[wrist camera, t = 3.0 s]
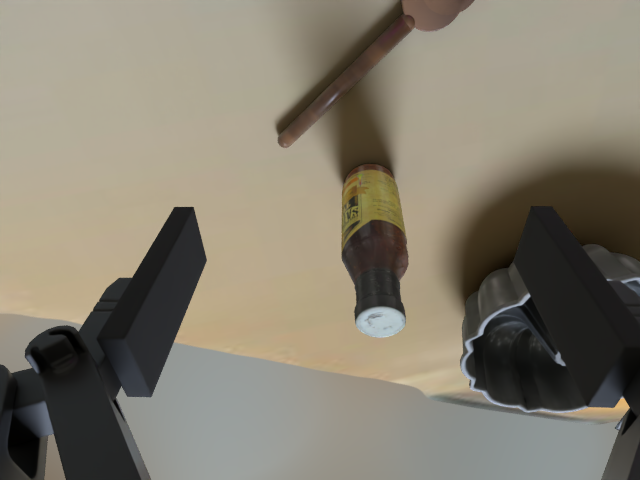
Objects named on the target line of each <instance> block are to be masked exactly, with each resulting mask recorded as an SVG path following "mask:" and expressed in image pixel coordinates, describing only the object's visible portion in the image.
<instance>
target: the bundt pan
mask: <svg viewBox="0 0 640 480" xmlns="http://www.w3.org/2000/svg"><path fill="white" fill-rule="evenodd" d="M582 247H583V249H584V250H585V251H586V253H587V254H588V255H589V257H590V258H591V259H592V261H593V262H594V263H595V265H596V266H597V267H598V269H599V270H600V271H601V273H602V274H603V275H604V277H605V278H606V279H607V281H621V282H622V283H624V284H625V285H627V286H628V287H629V288H631V289H632V290H633V291H635V292H636V293H637V295H638V296H639V297H640V262H639V261H638V260H636V259H635V258H633V257H630V256H628V255H625V254H620V253H610V252H609V251H608V250H607V249H606V248H604V247H602V246H600V245H597V244H587V245H584V246H582ZM513 261H514V260H513ZM465 311H466V315H465V317H464V320H463V324H462V337H463V354H462V357H461V359H460V366H461V370H462V373H463V374H464V375H465V376H466V377H467V378H468V379H470V383H469V386H470V389H471V390H474V391H478V392H482V393H483V395H484V396H485V397H486V398H487V400H489V401H490V402H492V403H494V404H497V405H500V406H505V407H518V408H520V409H521V410H523V411H524V412H534V411H540V410H543V411H547V412H554V413H565V412H573V411H578V410H582V409H585V408H588V407H587V406H586V404H585V402H584V400H583V398H582V396H581V394H580V392H579V390H578V388H577V386H576V384H575V382H574V380H573V378H572V376H571V374H570V372H569V371H568V369H567V367H566V365H565V363H564V361H563V359H562V357H561V355H560V353H559V351H558V349H557V347H556V345H555V343H554V341H553V339H552V337H551V335H550V333H549V331H548V329H547V327H546V325H545V323H544V321H543V319H542V317H541V316H540V314H539V312H538V310H537V308H536V306H535V304H534V302H533V300H532V298H531V296H530V294H529V292H528V290H527V288H526V286H525V284H524V282H523V280H522V278H521V276H520V274H519V272H518V270H517V268H516V266H515V264H514V262H512V264H511V265H510V267H509V268H503V269H498V270H496V271H494V272H492V273H490V274H489V275H488V276H487V277H486V278H485V279H484V281H483V282H482V284H481V286H480V289H479V291H476V292H474V293H472V294H471V295H470V296H469V297H468V299H467V301H466V305H465ZM621 398H624V397H623V396H622V397H621Z"/></svg>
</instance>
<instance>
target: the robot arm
mask: <svg viewBox="0 0 640 480" xmlns="http://www.w3.org/2000/svg"><path fill="white" fill-rule="evenodd" d="M206 261H207V259H206V255H205V251H204V247H203V243H202V239H201V235H200V231H199V227H198V223H197V219H196V215H195V211H194V207H174V209H173V211H172V212H171V214H170V216H169V217H168V219H167V221H166V222H165V224H164V226H163V227H162V229H161V231H160V232H159V234H158V236H157V237H156V239H155V241H154V242H153V244H152V246H151V247H150V249H149V251H148V252H147V254H146V256H145V257H144V259H143V261H142V262H141V264H140V266H139V267H138V269H137V271H136V273H135V274H134V276H133V278H119V279H117V280H116V281H115V282H114V283H112V284H111V285H110V286H109V287H108V288H107V289H106V290H105V292H104V293H103V295H102V296H101V298H100V299H99V302H97V304H96V306H95V307H94V309H93V312H91V313H90V315H89V316H88V318H87V319H86V321H85V322H84V324H83V325H82V327H81V329H80V330H79V332H78V331H77V330H76V329H75V328H74V327H71V326H57V327H54V328H51V329H48V330H46V331H44V332H42V333H41V334H39V335H38V336H36V337H35V338H34V339H33V340H32V341H31V342H30V343H29V345H28V347H27V348H26V350H25V358H26V359H27V361H28V362H29V363H30V364H31V366H32V367H33V368H31V369H27V370H22V371H18V372H14V373H10V371H9V370H8V369H7V368H6V367H5V366H3V365H0V480H44V476H45V464H46V452H47V441H48V435H52V434H54V436H55V440H56V444H57V447H58V451H59V455H60V459H61V462H62V466H63V470H64V474H65V478H66V480H151V478H150V476H149V473H148V471H147V469H146V467H145V464H144V461H143V459H142V457H141V454H140V452H139V450H138V447H137V445H136V443H135V440H134V438H133V435H132V433H131V431H130V428H129V426H128V424H127V421H126V419H125V416H124V414H123V412H122V409H121V407H120V405H119V403H118V401H117V399H116V396H117V394H118V392H119V390H120V388H121V386H122V388H123V390H124V391H125V393H126V395H127V396H128V397H151V396H152V394H153V392H154V389H155V387H156V384H157V382H158V379H159V377H160V374H161V372H162V369H163V367H164V365H165V362H166V359H167V357H168V355H169V352H170V350H171V347H172V345H173V342H174V340H175V337H176V335H177V333H178V330H179V328H180V325H181V323H182V320H183V318H184V315H185V313H186V310H187V308H188V305H189V303H190V301H191V298H192V296H193V293H194V291H195V288H196V286H197V283H198V281H199V278H200V276H201V273H202V271H203V269H204V266H205V264H206ZM513 262H514V264H515V266H516V268H517V270H518V272H519V274H520V276H521V278H522V280H523V282H524V284H525V286H526V288H527V290H528V292H529V294H530V296H531V298H532V300H533V302H534V304H535V306H536V308H537V310H538V312H539V314H540V316H541V317H542V319H543V321H544V323H545V325H546V327H547V329H548V331H549V333H550V335H551V337H552V339H553V341H554V343H555V345H556V347H557V349H558V351H559V353H560V355H561V357H562V359H563V361H564V363H565V365H566V367H567V369H568V371H569V372H570V374H571V376H572V378H573V380H574V382H575V384H576V386H577V388H578V390H579V392H580V394H581V396H582V398H583V400H584V402H585V404H586V406H587V407H608V408H614V407H615V406H616V404H617V403H618V401H619V400H620V399H621V397H622V396H623V397H624V398H625V400H626V402H627V403H628V405H629V407H630V408H629V410H628V411H627V412H626V414H625V415H624V416H623V418H622V419H621V420H620V422H619V423H618V424H617V426H616V427H615V429H617V430H619V432H618V435H617V438H616V441H615V444H614V446H613V449H612V452H611V455H610V457H609V460H608V463H607V465H606V468H605V471H604V473H603V476H602V479H601V480H640V297H639V296H638V295H637V293H636V292H635V291H633V290H632V289H631V288H629V287H628V286H627V285H625V284H624V283H622V282H621V281H607V279H606V278H605V277H604V275H603V274H602V273H601V271H600V270H599V269H598V267H597V266H596V265H595V263H594V262H593V261H592V259H591V258H590V257H589V255H588V254H587V253H586V251H585V250H584V249H583V247H582V246H581V245H580V243H579V242H578V241H577V239H576V238H575V237H574V235H573V234H572V233H571V231H570V230H569V229H568V227H567V226H566V225H565V223H564V222H563V221H562V219H561V218H560V217H559V215H558V214H557V213H556V211H555V210H554V209H553V207H552V206H531V209H530V212H529V215H528V218H527V221H526V224H525V227H524V230H523V233H522V236H521V239H520V242H519V245H518V249H517V252H516V255H515V258H514V261H513Z"/></svg>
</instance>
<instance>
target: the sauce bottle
mask: <svg viewBox="0 0 640 480" xmlns="http://www.w3.org/2000/svg"><path fill="white" fill-rule="evenodd" d="M406 244H407V240H406V234H405V228H404V222H403V216H402V210H401V204H400V198H399V193H398V188H397V185H396V182H395V180H394V177H393V176H392V174H391V173H390V171H389V170H388V169H386V168H384V167H383V166H380V165H377V164H364V165H360V166H358V167H356V168H355V169H353V170H352V171H351V172H350V173H349V175H348V176H347V178H346V180H345V183H344V186H343V190H342V261H343V263H344V265H345V267H346V269H347V271H348V273H349V275H350V277H351V278H352V280H353V282H354V284H355V290H356V301H357V302H356V307H355V311H354V313H355V323H356V326H357V328H358V329H359V330H360V331H361V332H363V333H364V334H366V335H369V336H371V337H387V336H391V335H394V334H396V333H398V332H399V331H401V330H402V329H403V327H404V326H405V322H406V316H405V310H404V306H403V304H402V302H401V296H400V282H399V281H400V279H401V278H402V277H403V276H404V273H405V271H406V270H407V267H408V253H407V252H408V251H407V247H406Z"/></svg>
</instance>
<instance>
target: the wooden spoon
mask: <svg viewBox="0 0 640 480" xmlns="http://www.w3.org/2000/svg"><path fill="white" fill-rule="evenodd" d="M473 2H474V0H401V6H402V10H403V14H402V15H401V16H400V17H399V18H398V19H397V20H396V21H394V22H393V23H392V24H391V25H390V26H389V27H388V28H387V29H386V30H385V31H384V32H383V33H382V34H381V35H380V36H379V37H378V38H377V39H376V40H375V41H374V42H373V43H372V44H371V45H370V46H369V47H368V48H367V49H366V50H365V51H364V52H363V53H362V54H361V55H360V56H359V57H358V58H357V59H356V60H355V61H354V62H353V63H352V64H351V65H350V66H349V67H348V68H347V69H346V70H345V71H344V72H343V73H342V74H341V75H340V76H339V77H338V78H337V79H336V80H335V81H334V82H333V83H332V84H331V85H330V86H329V87H328V88H327V89H325V90H324V91H323V92H322V93H321V94H320V95H319V96H318V97H317V98H316V99H315V100H314V101H313V102H312V103H311V104H310V105H309V106H308V107H307V108H306V109H305V110H304V111H303V112H302V113H301V114H300V115H299V116H298V117H297V118H296V119H295V120H294V121H293V122H292V123H291V124H290V125H289V126H288V127H287V128H286V129H285V130H284V131H283V132H282V133H281V134H280V135H279V136H278V143H279V145H280V146H281V147H283V148H287V147H289V146H291V145H292V144H293V143H294V142H295V141H296V140H297V139H298V138H299V137H300V136H301V135H302V134H303V133H304V132H305V131H307V130H308V129H309V128H310V127H311V126H312V125H313V124H314V123H315V122H316V121H317V120H318V119H319V118H320V117H321V116H322V115H323V114H324V113H325V112H327V111H328V110H329V109H330V108H331V107H332V106H333V105H334V104H335V103H336V102H337V101H338V100H339V99H340V98H341V97H342V96H343V95H344V94H346V93H347V92H348V91H349V90H350V89H351V88H352V87H353V86H354V85H355V84H356V83H357V82H358V81H359V80H360V79H361V78H362V77H363V76H364V75H366V74H367V73H368V72H369V71H370V70H371V69H372V68H373V67H374V66H375V65H376V64H377V63H378V62H379V61H380V60H381V59H382V58H383V57H385V56H386V55H387V54H388V53H389V52H390V51H391V50H392V49H393V48H394V47H395V46H396V45H397V44H398V43H399V42H400V41H401V40H402V39H403V38H405V37H406V36H407V35H408V34H409V33H410V32H411V31H412V30H413V29H414V27H415V28H416V29H418V30H421V31H426V32H432V31H437V30H440V29H442V28H444V27H446V26H447V25H449V24H450V23H451V22H452V21H453V20H454V19H455V18H456V17H457V15H458V14H459V12H461V11H463V10H465V9H466V8H467V7H469V6H470V5H471V4H472V3H473Z"/></svg>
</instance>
